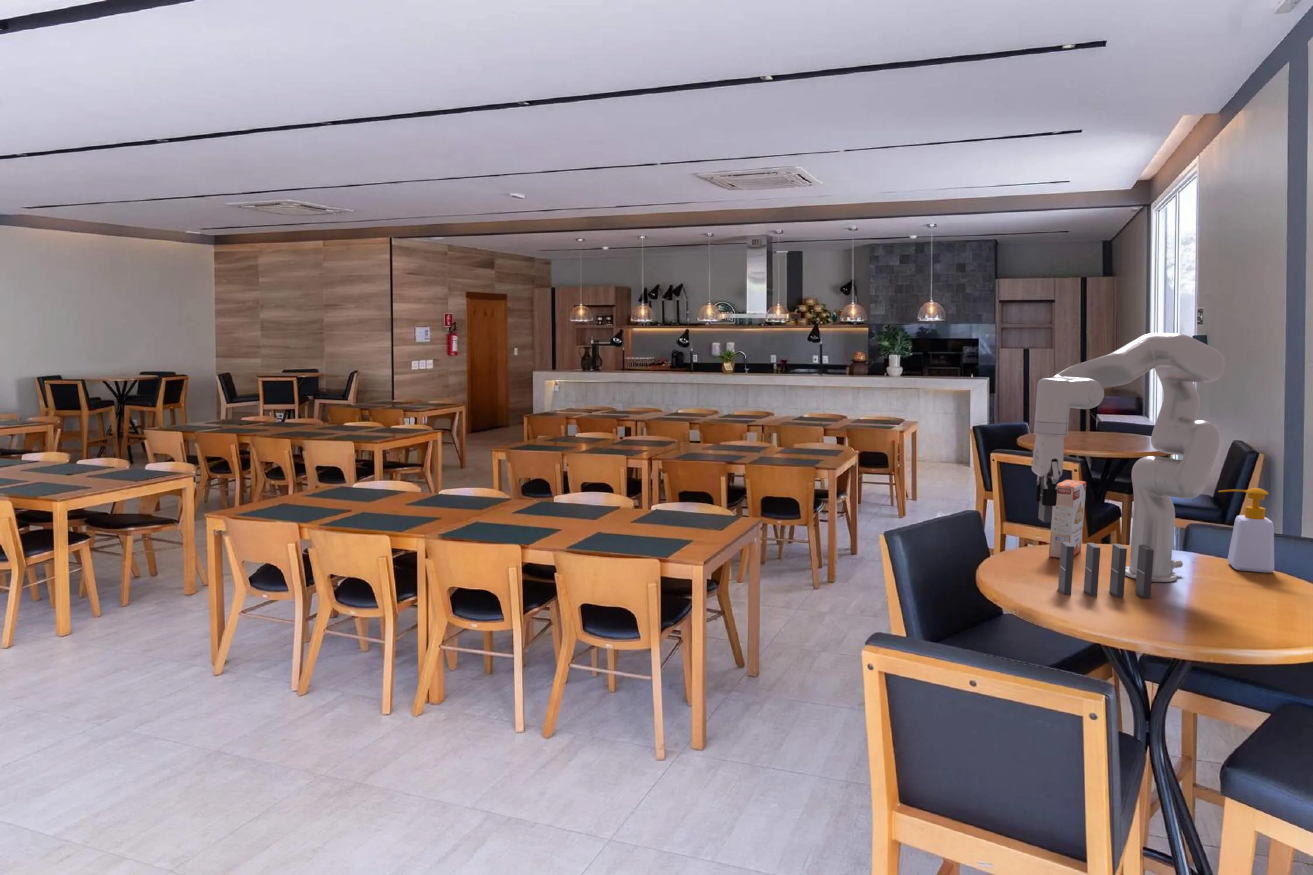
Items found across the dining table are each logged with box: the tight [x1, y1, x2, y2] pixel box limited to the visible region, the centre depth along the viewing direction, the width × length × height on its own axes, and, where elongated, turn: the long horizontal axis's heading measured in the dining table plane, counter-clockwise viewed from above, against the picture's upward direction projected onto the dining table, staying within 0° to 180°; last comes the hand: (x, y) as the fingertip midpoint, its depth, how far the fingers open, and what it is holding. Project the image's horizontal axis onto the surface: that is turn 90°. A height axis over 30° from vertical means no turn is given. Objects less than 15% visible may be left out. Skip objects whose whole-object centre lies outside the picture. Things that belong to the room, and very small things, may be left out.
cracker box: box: [1048, 479, 1087, 559], centre depth 262 cm, size 14×6×21 cm, turn 142°
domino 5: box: [1134, 545, 1154, 600], centre depth 221 cm, size 2×5×12 cm, turn 172°
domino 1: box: [1037, 474, 1053, 523], centre depth 223 cm, size 2×5×12 cm, turn 172°
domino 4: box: [1108, 543, 1128, 598], centre depth 222 cm, size 2×5×12 cm, turn 172°
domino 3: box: [1083, 542, 1101, 597], centre depth 223 cm, size 2×5×12 cm, turn 172°
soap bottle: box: [1218, 487, 1275, 574], centre depth 249 cm, size 10×14×22 cm
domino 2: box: [1057, 542, 1075, 596], centre depth 224 cm, size 2×5×12 cm, turn 172°
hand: (1045, 502), depth 223 cm, fingers closed on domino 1, 4 cm apart
